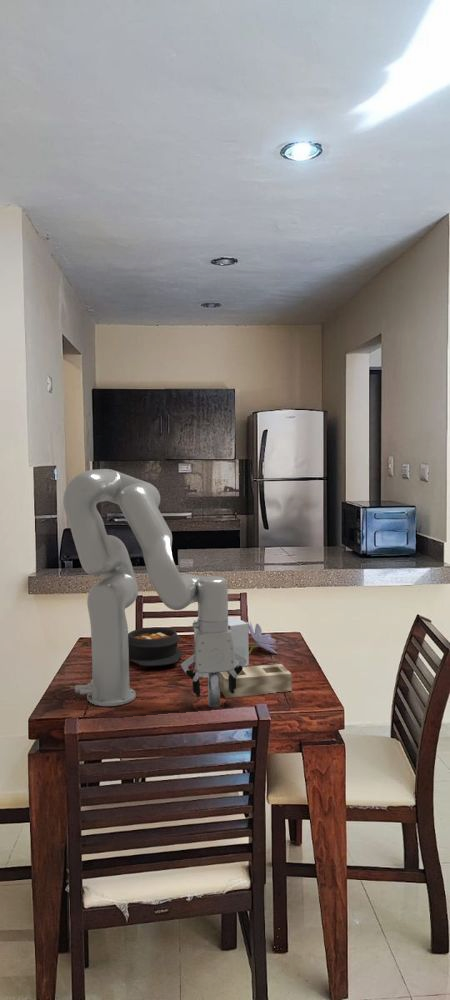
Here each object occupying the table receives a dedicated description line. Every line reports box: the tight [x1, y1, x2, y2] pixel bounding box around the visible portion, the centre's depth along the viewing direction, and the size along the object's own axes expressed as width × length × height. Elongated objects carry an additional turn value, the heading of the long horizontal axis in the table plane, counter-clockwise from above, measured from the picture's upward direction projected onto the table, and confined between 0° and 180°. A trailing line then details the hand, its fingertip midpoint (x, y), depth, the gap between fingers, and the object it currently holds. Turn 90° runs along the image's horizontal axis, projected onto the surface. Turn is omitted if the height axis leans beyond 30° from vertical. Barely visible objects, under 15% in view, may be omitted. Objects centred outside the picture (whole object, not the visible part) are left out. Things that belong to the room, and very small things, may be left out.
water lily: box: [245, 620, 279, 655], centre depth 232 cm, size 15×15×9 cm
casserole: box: [128, 627, 184, 667], centre depth 226 cm, size 25×19×8 cm
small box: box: [228, 617, 250, 667], centre depth 221 cm, size 8×6×13 cm
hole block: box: [220, 663, 293, 699], centre depth 198 cm, size 18×9×5 cm, turn 103°
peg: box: [207, 672, 221, 709], centre depth 186 cm, size 3×3×10 cm
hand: (214, 693), depth 186 cm, fingers open, 8 cm apart
